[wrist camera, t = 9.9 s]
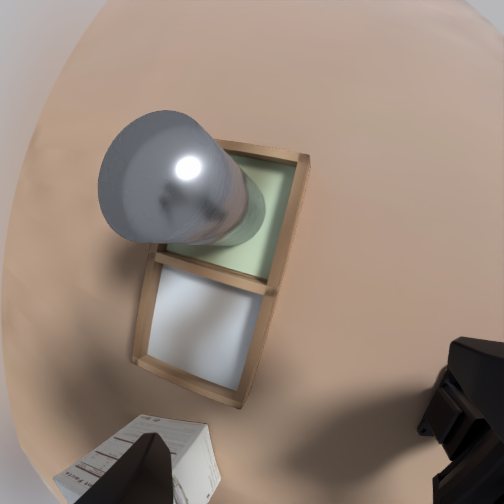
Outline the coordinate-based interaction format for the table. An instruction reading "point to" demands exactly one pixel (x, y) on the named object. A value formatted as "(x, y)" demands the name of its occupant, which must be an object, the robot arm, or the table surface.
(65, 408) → the table surface
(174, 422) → the supplement box
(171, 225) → the grey metal cylinder
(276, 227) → the wooden divided tray
